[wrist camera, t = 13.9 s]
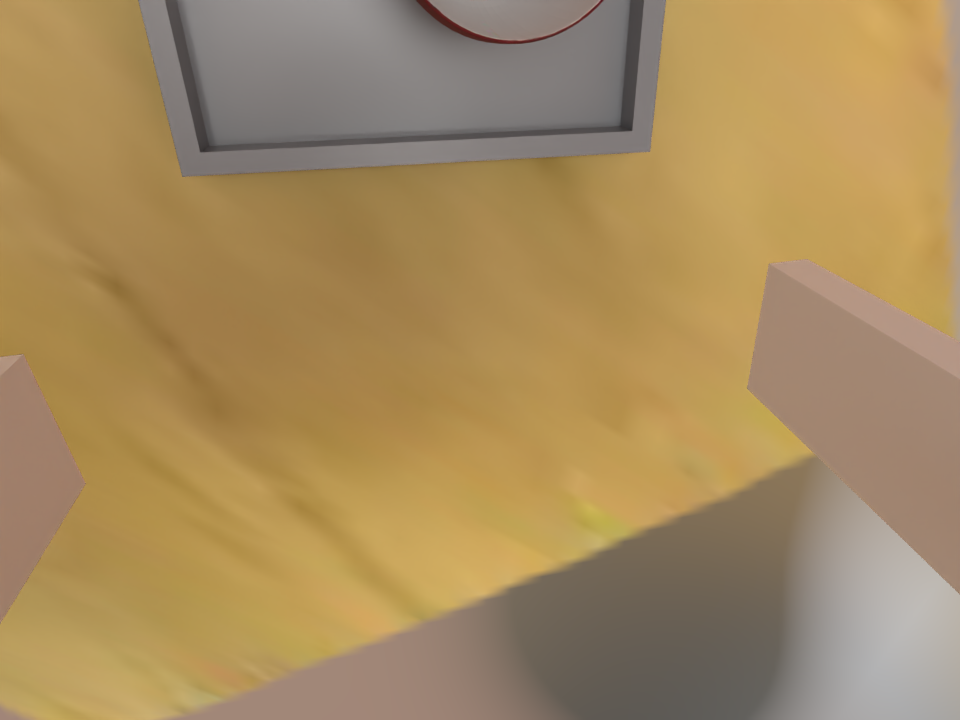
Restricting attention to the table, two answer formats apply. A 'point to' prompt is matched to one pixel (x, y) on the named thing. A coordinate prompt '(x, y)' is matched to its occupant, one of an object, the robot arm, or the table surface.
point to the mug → (509, 18)
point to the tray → (394, 85)
